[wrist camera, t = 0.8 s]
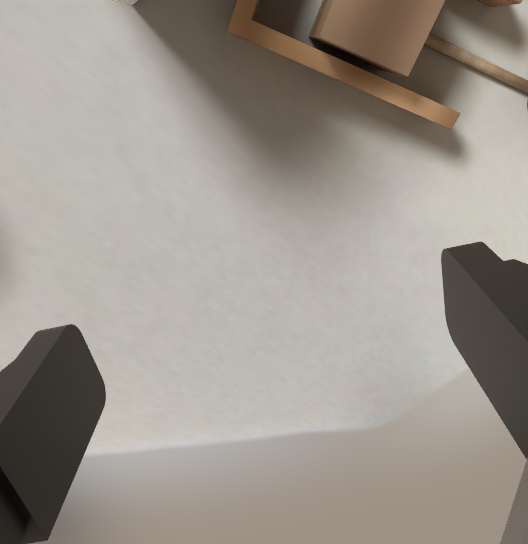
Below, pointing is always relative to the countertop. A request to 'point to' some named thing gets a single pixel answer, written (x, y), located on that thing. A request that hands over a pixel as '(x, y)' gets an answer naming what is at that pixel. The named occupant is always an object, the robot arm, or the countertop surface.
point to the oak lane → (341, 64)
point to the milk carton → (127, 1)
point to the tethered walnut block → (392, 35)
